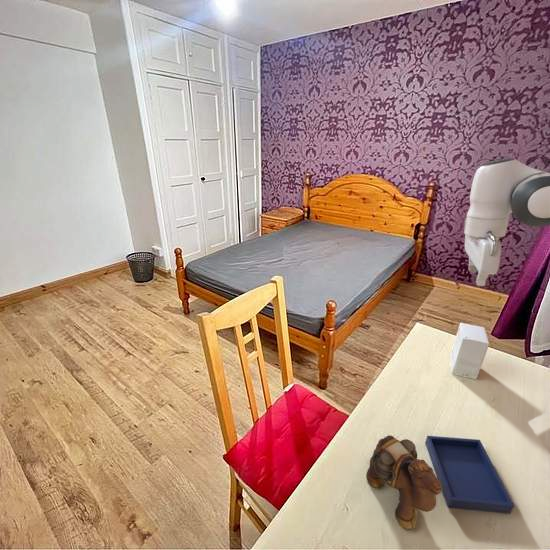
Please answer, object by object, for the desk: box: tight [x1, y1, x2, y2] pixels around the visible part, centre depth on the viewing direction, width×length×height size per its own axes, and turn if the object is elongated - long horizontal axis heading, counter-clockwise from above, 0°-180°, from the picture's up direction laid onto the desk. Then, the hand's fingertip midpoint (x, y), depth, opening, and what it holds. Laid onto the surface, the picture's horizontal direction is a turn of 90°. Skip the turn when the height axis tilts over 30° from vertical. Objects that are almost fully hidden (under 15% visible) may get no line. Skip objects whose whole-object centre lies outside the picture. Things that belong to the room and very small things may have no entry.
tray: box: [424, 435, 515, 514], centre depth 63 cm, size 11×13×3 cm
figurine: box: [365, 435, 442, 530], centre depth 58 cm, size 9×15×15 cm, turn 26°
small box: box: [449, 322, 490, 380], centre depth 88 cm, size 8×6×13 cm
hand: (475, 278), depth 82 cm, fingers open, 8 cm apart
